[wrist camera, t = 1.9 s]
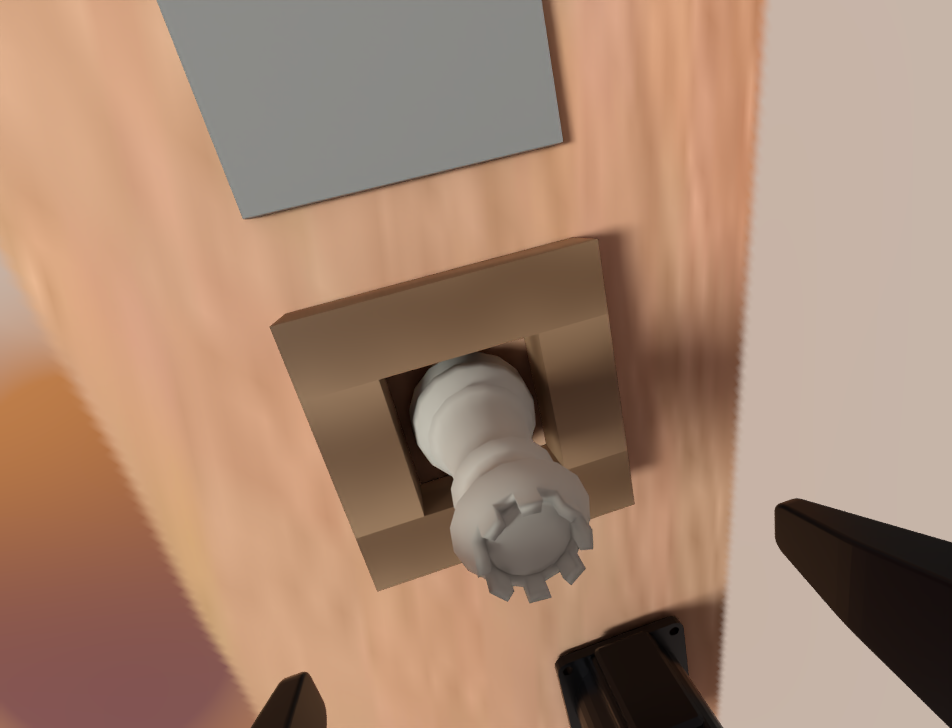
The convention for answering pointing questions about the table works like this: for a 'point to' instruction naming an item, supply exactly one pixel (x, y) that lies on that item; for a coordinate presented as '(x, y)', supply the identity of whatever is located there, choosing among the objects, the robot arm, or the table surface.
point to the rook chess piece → (500, 477)
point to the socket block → (442, 338)
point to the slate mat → (362, 90)
